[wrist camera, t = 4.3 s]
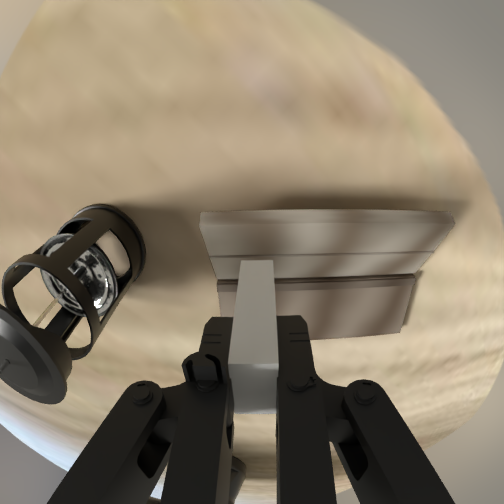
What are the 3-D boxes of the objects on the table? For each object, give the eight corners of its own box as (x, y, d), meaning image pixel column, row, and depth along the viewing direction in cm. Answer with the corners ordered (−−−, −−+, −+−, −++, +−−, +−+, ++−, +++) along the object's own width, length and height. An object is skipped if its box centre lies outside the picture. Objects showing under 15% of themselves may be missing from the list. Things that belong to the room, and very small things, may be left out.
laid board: (224, 334, 34) (223, 343, 33) (218, 276, 31) (216, 284, 29) (396, 326, 33) (400, 334, 32) (410, 270, 30) (416, 277, 29)
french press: (81, 182, 27) (-109, 318, 6) (162, 224, 28) (21, 441, 8) (60, 272, 31) (-58, 419, 10) (127, 310, 33) (40, 491, 12)
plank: (217, 267, 30) (217, 280, 30) (200, 212, 22) (199, 226, 22) (412, 262, 29) (415, 274, 29) (450, 211, 22) (455, 224, 21)
